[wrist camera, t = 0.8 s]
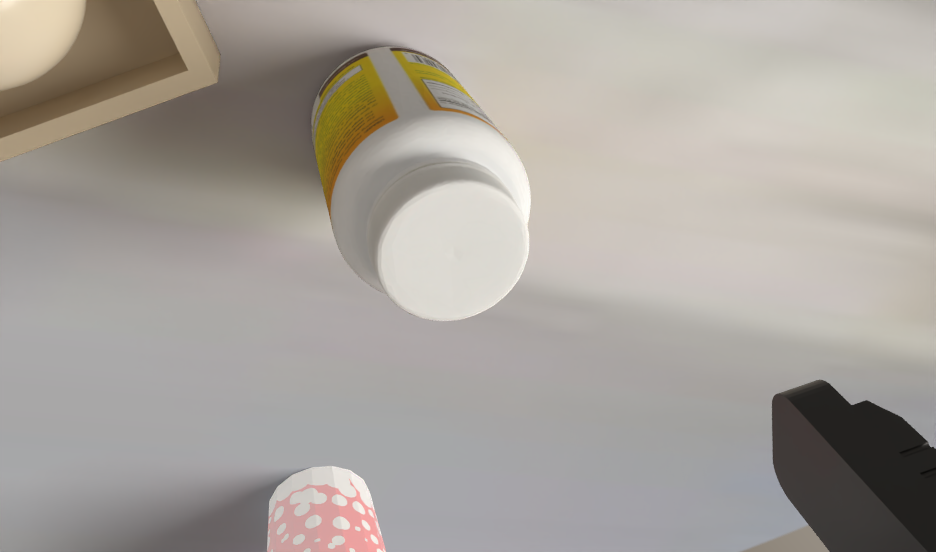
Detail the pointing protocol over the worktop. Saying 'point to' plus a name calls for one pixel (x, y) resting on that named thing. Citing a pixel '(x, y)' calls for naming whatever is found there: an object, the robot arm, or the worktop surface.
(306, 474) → the beverage cup
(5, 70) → the egg
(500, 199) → the supplement bottle
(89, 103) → the divided tray
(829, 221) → the worktop surface
